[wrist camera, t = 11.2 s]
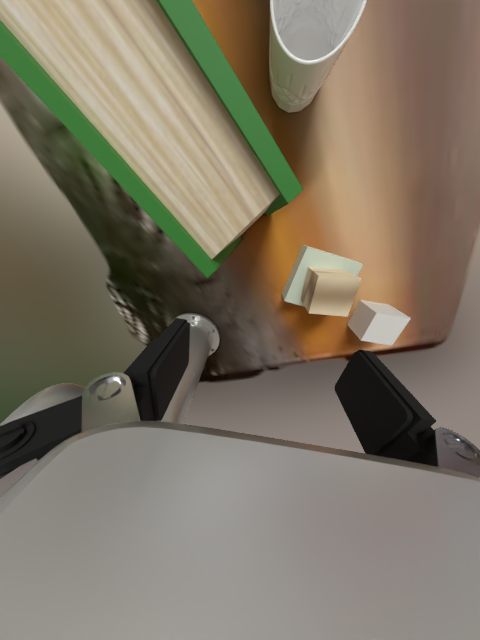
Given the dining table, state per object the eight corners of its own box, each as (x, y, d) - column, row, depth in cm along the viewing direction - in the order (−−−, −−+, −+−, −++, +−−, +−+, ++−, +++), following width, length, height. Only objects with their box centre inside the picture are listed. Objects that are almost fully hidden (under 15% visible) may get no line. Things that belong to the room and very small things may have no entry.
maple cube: (333, 302, 33) (347, 316, 28) (300, 299, 34) (308, 313, 28) (343, 269, 30) (361, 278, 25) (308, 267, 31) (318, 275, 25)
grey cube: (374, 329, 39) (391, 345, 34) (346, 324, 39) (360, 340, 34) (388, 304, 36) (410, 318, 31) (359, 299, 36) (376, 312, 31)
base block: (325, 306, 38) (332, 315, 35) (281, 293, 38) (284, 301, 34) (352, 259, 33) (363, 264, 30) (301, 244, 33) (307, 246, 29)
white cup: (259, 45, 22) (260, -71, 13) (326, 9, 20) (377, -150, 12) (271, 129, 26) (279, 81, 17) (330, 104, 24) (372, 37, 15)
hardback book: (271, 211, 30) (303, 189, 9) (238, 242, 33) (207, 278, 12) (195, 100, 25) (-141, -563, 4) (164, 148, 28) (-133, -86, 7)
